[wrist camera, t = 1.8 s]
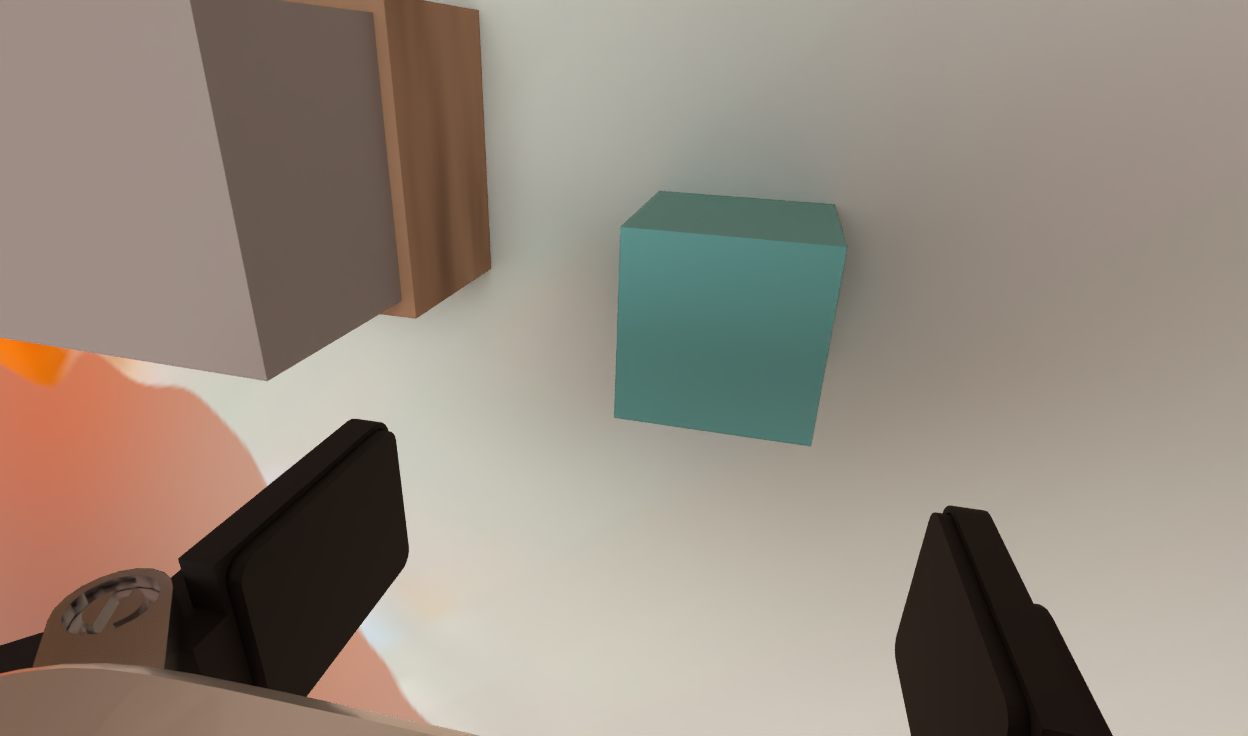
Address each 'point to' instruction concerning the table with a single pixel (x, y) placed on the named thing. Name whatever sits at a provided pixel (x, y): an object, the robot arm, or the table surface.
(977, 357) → the table surface
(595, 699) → the table surface
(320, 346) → the tower mid
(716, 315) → the teal cube
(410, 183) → the tower base
